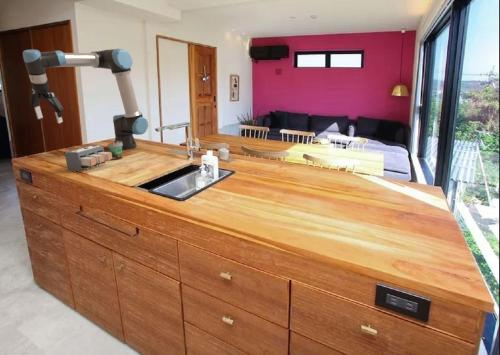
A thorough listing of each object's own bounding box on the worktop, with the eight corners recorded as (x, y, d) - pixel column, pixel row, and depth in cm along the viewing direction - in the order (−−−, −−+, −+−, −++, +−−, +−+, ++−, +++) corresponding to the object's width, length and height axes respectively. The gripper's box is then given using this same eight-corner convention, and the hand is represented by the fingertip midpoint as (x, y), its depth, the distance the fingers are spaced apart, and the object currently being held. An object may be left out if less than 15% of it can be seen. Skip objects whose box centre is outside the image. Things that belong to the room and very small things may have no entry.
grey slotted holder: (105, 162, 191) (103, 145, 188) (80, 171, 174) (77, 152, 171) (93, 161, 193) (90, 144, 190) (67, 170, 176) (64, 151, 173)
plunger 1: (96, 164, 175) (95, 157, 174) (91, 165, 172) (90, 159, 171) (84, 163, 177) (83, 156, 176) (79, 165, 174) (78, 158, 173)
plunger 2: (112, 158, 187) (111, 152, 186) (108, 160, 184) (107, 153, 183) (101, 157, 189) (100, 151, 188) (96, 159, 186) (95, 153, 185)
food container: (119, 161, 195) (117, 144, 192) (109, 161, 196) (107, 144, 193) (127, 156, 207) (125, 140, 204) (117, 156, 207) (115, 140, 204)
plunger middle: (104, 161, 181) (103, 155, 180) (99, 162, 178) (99, 156, 177) (93, 160, 183) (92, 154, 182) (88, 162, 180) (87, 155, 179)
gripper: (13, 80, 170) (26, 118, 181) (53, 87, 164) (63, 126, 176) (26, 76, 176) (37, 114, 187) (64, 83, 170) (74, 121, 182)
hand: (50, 120), depth 181 cm, fingers open, 13 cm apart
